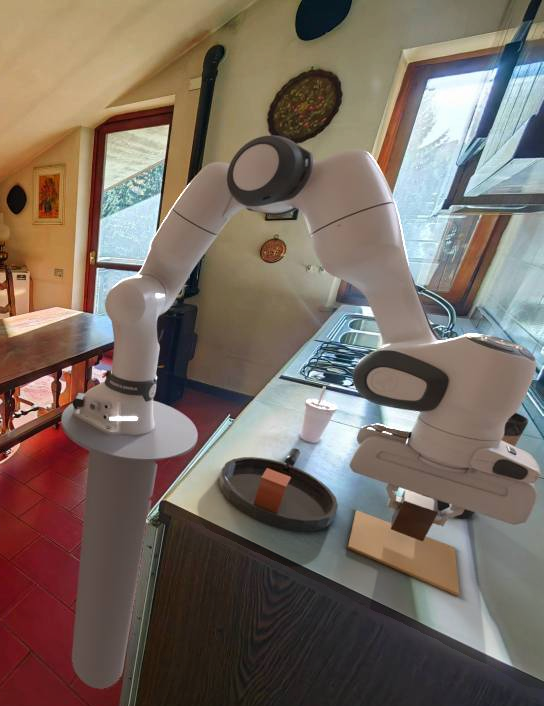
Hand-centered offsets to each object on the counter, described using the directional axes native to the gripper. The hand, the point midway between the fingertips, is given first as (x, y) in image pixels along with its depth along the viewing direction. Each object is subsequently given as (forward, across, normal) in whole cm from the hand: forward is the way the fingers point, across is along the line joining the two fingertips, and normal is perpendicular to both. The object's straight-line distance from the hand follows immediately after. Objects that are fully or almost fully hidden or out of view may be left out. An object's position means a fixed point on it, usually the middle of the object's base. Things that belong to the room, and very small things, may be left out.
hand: (414, 514), depth 64 cm
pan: (+5, -19, -3) cm, 20 cm away
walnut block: (+3, 0, 0) cm, 3 cm away
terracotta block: (+5, -19, -7) cm, 21 cm away
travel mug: (+6, +6, +17) cm, 19 cm away
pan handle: (+5, -19, +11) cm, 23 cm away
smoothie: (+5, -18, +28) cm, 34 cm away
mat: (+5, 0, -3) cm, 6 cm away
